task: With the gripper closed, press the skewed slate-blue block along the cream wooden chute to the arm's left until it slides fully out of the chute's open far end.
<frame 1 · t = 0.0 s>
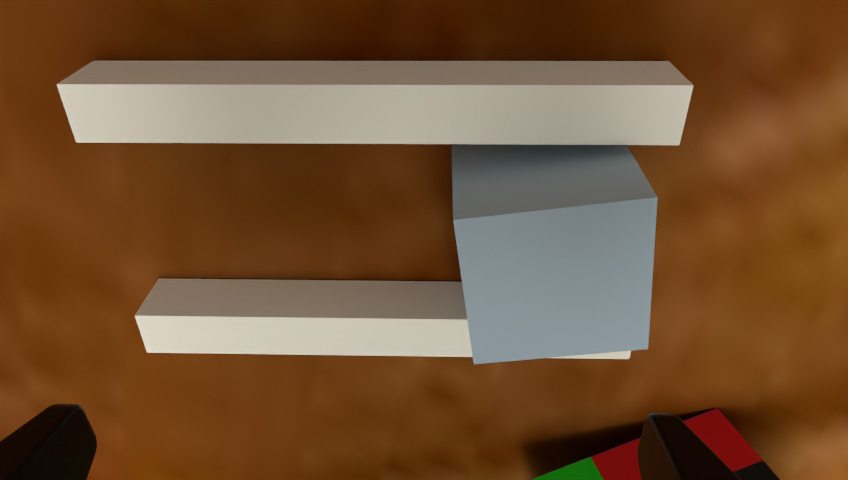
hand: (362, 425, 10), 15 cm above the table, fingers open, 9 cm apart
chute: (384, 205, 25), on the table
block: (535, 204, 25), on the table
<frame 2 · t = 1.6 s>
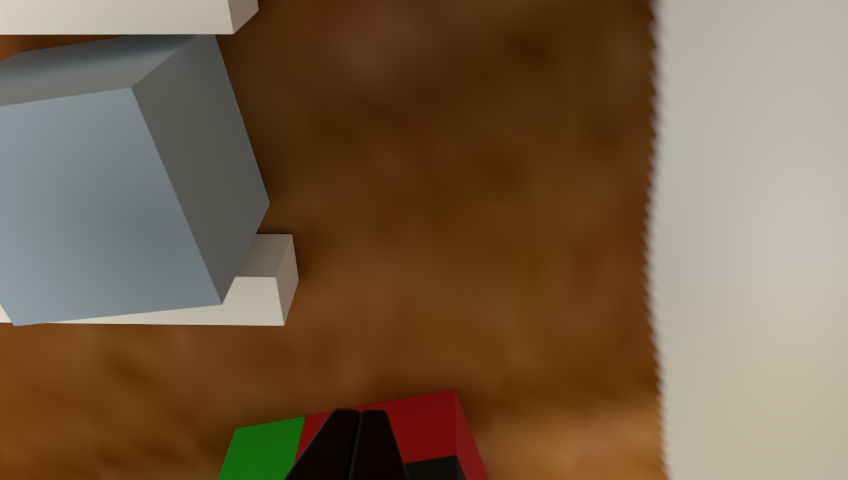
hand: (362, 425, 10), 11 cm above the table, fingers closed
block: (153, 131, 20), on the table
puzzle toy: (379, 475, 29), on the table
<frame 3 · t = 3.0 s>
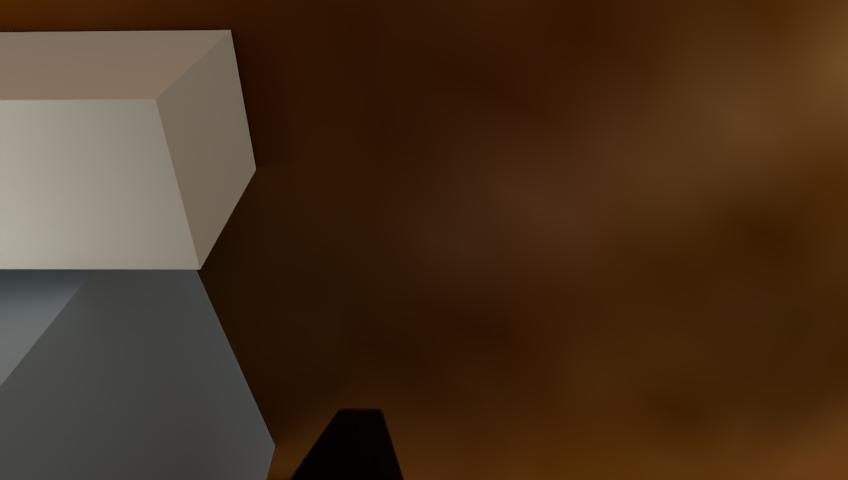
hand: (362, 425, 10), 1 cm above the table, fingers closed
block: (70, 352, 11), on the table, touching gripper
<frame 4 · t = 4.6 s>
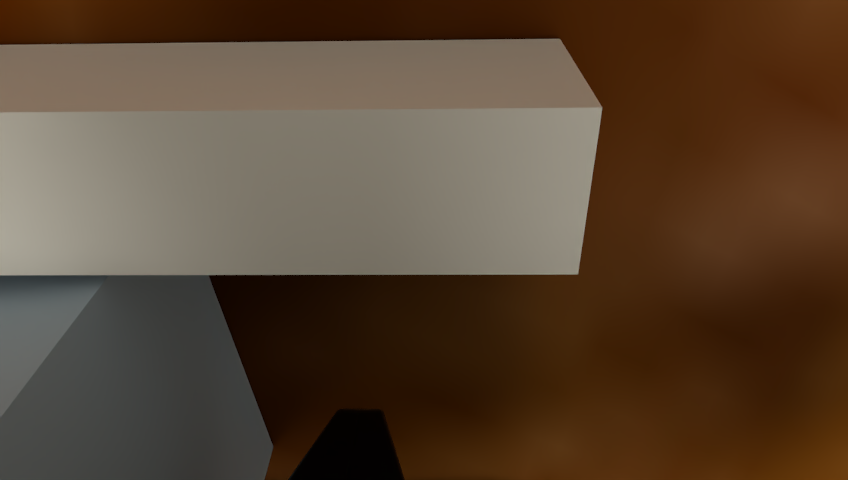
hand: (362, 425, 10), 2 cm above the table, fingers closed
block: (72, 348, 11), on the table, touching gripper
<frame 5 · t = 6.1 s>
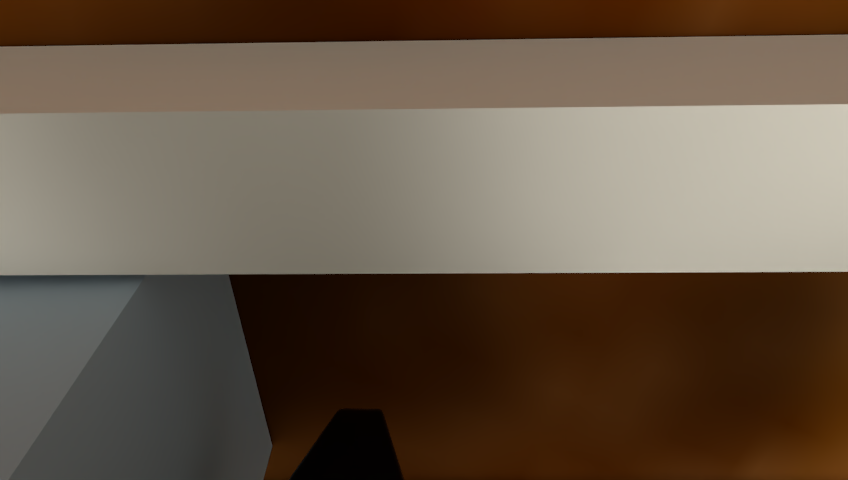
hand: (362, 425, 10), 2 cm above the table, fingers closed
chute: (440, 359, 11), on the table
block: (79, 337, 11), on the table, touching gripper
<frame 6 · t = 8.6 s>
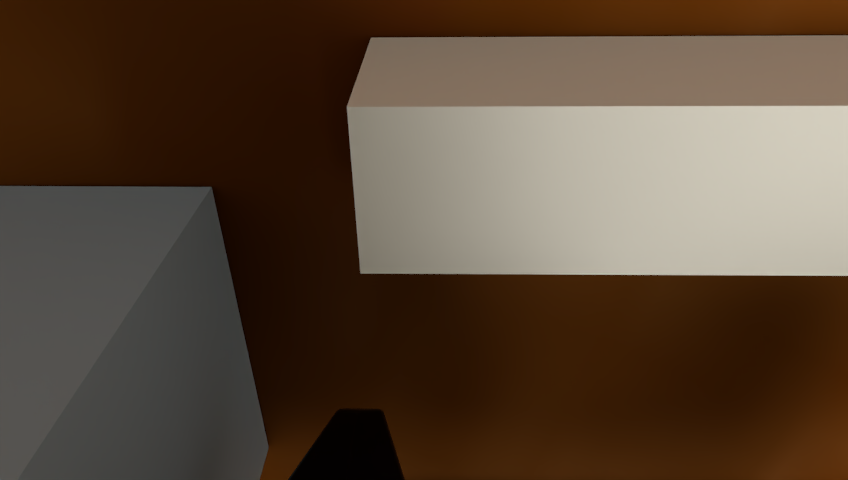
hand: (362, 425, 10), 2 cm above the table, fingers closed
block: (78, 334, 11), on the table, touching gripper
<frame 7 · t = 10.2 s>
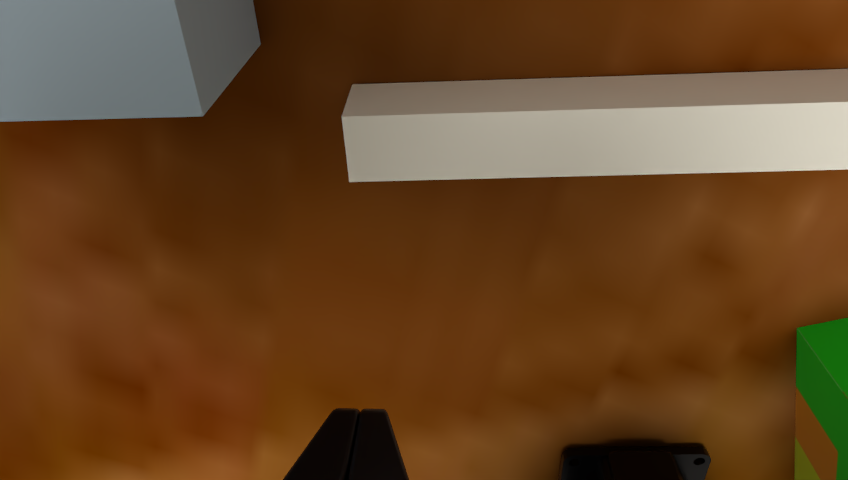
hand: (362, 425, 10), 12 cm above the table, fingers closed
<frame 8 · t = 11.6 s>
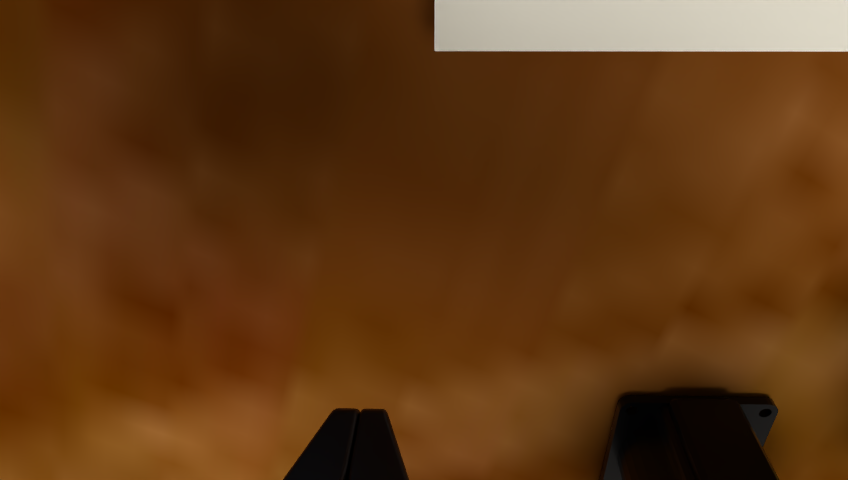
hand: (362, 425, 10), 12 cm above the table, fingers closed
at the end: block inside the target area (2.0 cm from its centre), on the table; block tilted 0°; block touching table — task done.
